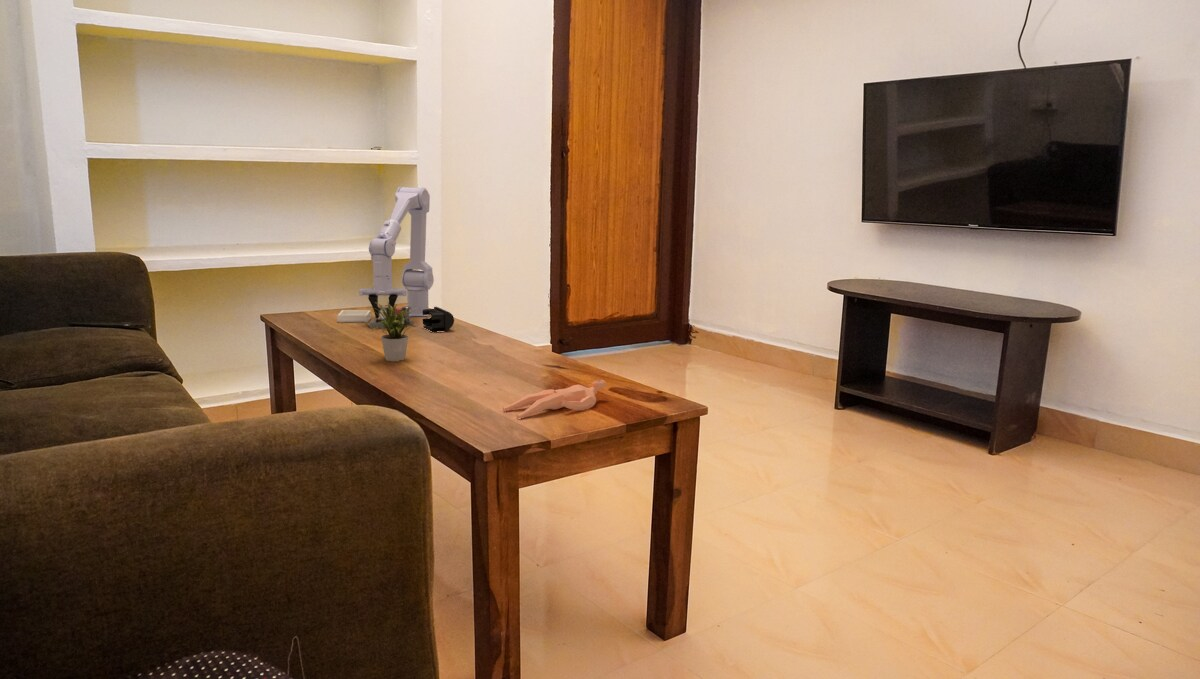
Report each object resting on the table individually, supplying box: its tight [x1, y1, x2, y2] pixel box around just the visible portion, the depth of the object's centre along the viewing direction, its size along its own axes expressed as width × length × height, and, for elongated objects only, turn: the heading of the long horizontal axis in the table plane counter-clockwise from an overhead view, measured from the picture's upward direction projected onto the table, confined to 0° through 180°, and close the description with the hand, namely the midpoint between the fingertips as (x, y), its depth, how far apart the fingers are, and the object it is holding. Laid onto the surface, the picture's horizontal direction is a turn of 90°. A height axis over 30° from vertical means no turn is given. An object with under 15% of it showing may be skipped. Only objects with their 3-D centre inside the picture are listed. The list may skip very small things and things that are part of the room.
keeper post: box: [401, 305, 414, 326], centre depth 258 cm, size 4×4×6 cm
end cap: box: [422, 306, 455, 333], centre depth 252 cm, size 10×7×7 cm
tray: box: [336, 309, 372, 324], centre depth 263 cm, size 9×9×2 cm
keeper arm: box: [378, 305, 404, 316], centre depth 262 cm, size 13×3×2 cm, turn 59°
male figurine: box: [502, 378, 607, 419], centre depth 174 cm, size 11×5×25 cm
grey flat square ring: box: [368, 317, 386, 329], centre depth 255 cm, size 8×8×2 cm
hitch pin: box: [378, 303, 389, 322], centre depth 254 cm, size 4×4×7 cm
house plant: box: [369, 301, 419, 362], centre depth 210 cm, size 14×14×16 cm
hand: (383, 317), depth 254 cm, fingers closed on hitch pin, 4 cm apart
